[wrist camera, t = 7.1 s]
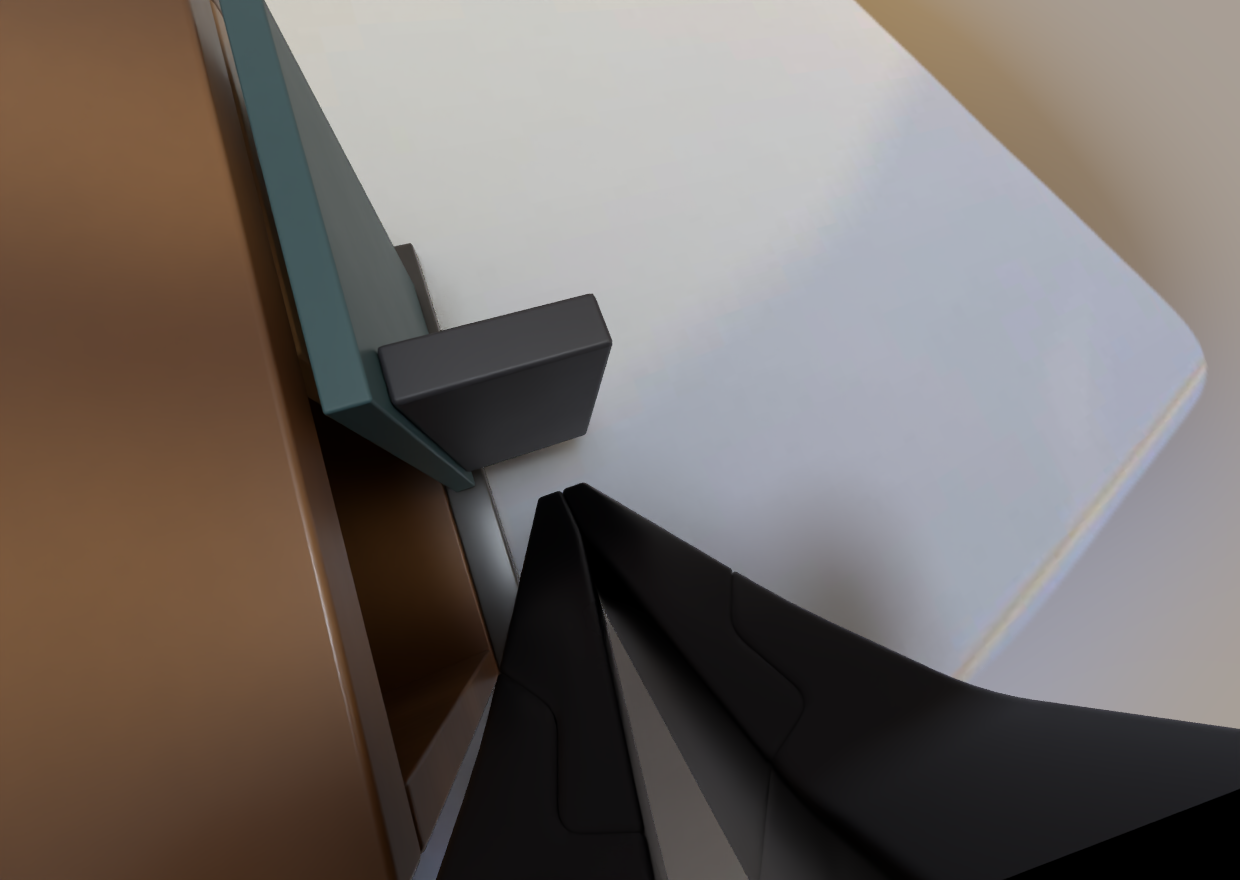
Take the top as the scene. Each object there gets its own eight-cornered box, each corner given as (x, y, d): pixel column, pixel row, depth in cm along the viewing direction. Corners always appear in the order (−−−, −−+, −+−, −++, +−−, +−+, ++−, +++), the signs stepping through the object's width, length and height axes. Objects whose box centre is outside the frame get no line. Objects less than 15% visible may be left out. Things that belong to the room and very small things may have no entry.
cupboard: (542, 653, 13) (522, 848, 5) (191, 802, 11) (-996, 1636, 3) (416, 253, 16) (249, -111, 7) (109, 318, 14) (-650, -77, 5)
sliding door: (586, 449, 14) (626, 331, 6) (456, 492, 13) (321, 414, 6) (518, 261, 15) (484, -30, 8) (394, 288, 14) (215, -9, 7)
